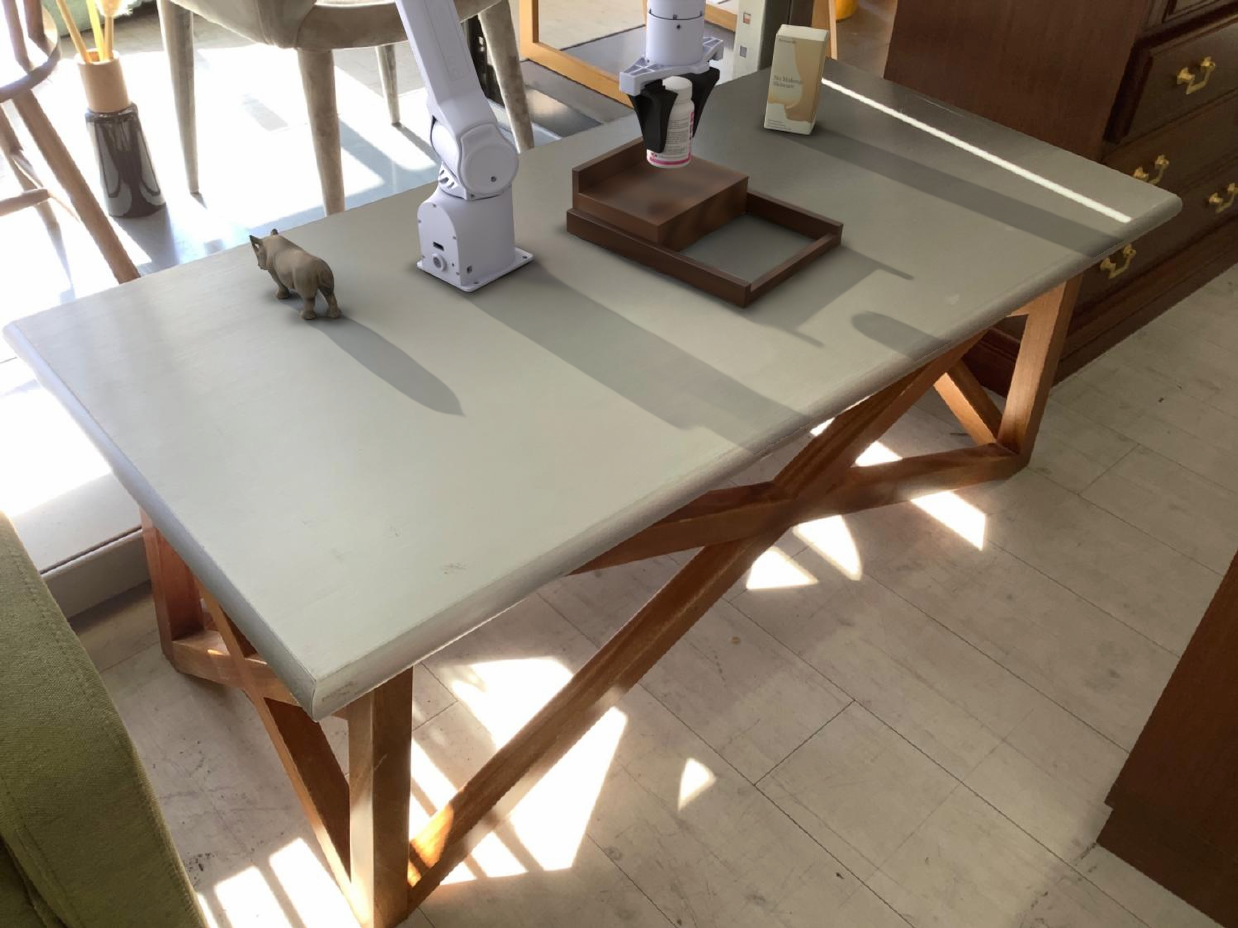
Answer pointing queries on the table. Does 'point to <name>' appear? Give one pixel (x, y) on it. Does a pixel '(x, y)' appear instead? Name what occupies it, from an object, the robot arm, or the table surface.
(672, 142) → the pill bottle
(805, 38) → the cosmetic box
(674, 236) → the step rack
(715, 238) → the table surface
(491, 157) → the robot arm
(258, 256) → the rhino figurine
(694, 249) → the table surface
